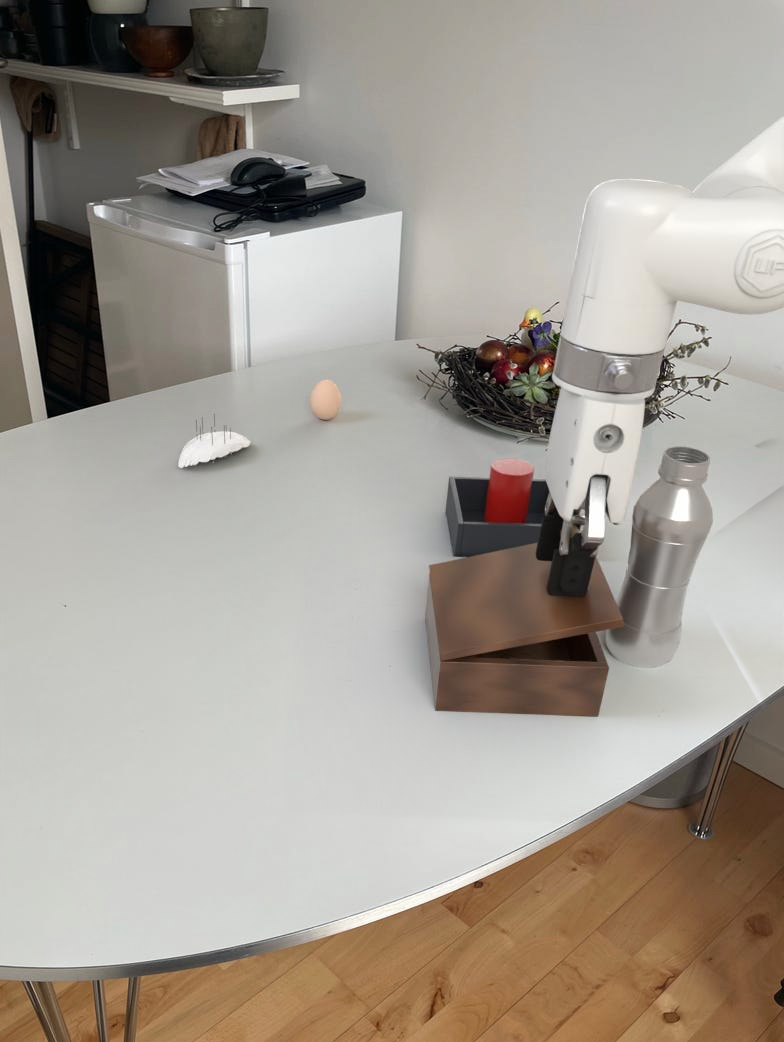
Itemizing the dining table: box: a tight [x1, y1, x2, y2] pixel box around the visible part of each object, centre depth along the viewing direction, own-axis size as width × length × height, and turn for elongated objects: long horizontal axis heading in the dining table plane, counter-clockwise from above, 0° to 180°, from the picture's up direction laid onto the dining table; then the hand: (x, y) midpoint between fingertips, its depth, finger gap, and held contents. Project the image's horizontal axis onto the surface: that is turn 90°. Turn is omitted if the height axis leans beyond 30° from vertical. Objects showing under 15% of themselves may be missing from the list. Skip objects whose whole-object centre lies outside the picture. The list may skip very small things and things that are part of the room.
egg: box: [309, 379, 342, 421], centre depth 138 cm, size 4×4×6 cm
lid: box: [428, 525, 624, 661], centre depth 82 cm, size 14×15×5 cm
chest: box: [424, 572, 610, 718], centre depth 86 cm, size 14×15×6 cm
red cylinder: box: [484, 458, 535, 524], centre depth 107 cm, size 5×5×8 cm
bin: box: [445, 476, 551, 558], centre depth 108 cm, size 12×12×4 cm
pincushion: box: [177, 413, 252, 469], centre depth 126 cm, size 12×6×6 cm, turn 135°
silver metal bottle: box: [604, 445, 714, 669], centre depth 84 cm, size 6×7×20 cm
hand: (559, 574), depth 82 cm, fingers closed on lid, 5 cm apart
